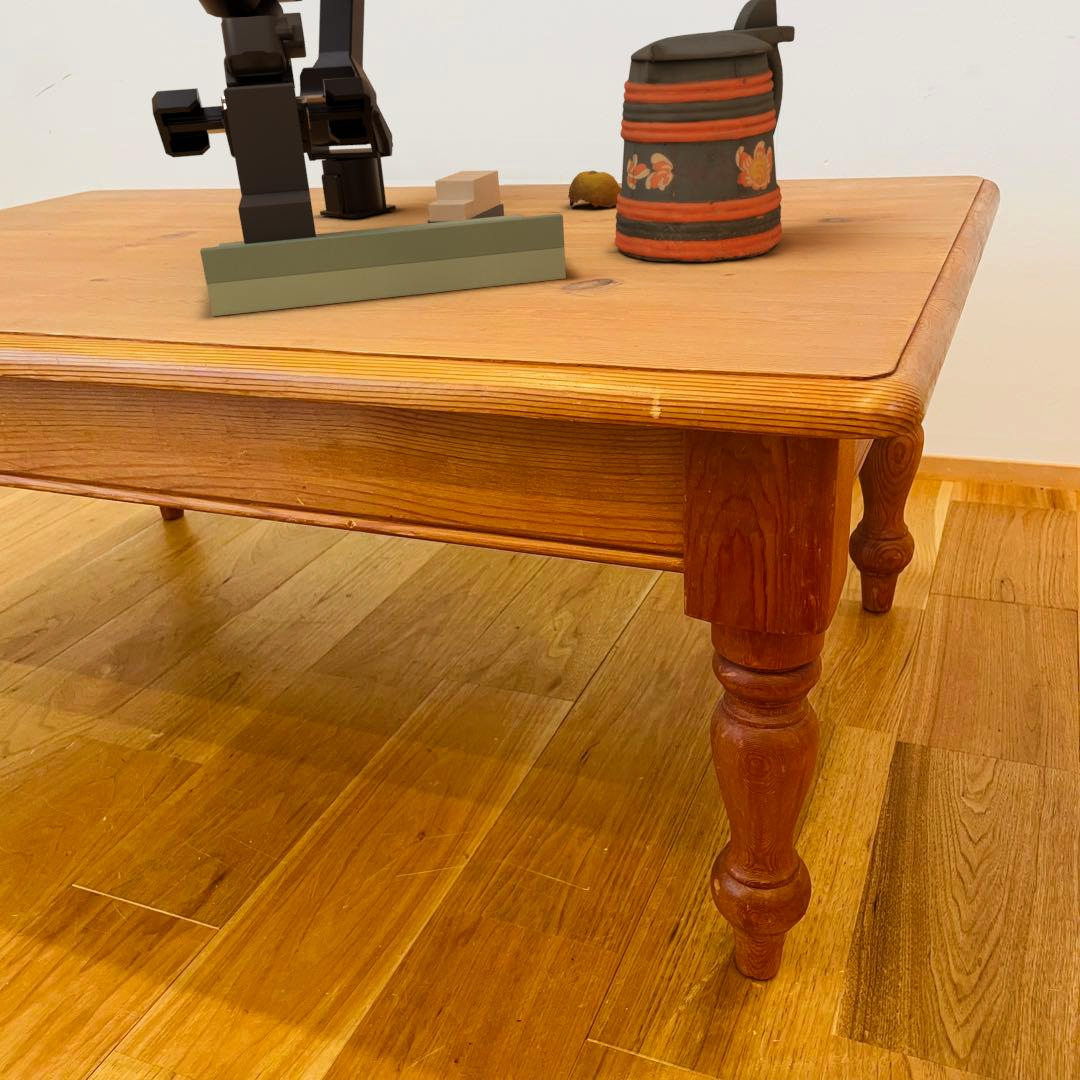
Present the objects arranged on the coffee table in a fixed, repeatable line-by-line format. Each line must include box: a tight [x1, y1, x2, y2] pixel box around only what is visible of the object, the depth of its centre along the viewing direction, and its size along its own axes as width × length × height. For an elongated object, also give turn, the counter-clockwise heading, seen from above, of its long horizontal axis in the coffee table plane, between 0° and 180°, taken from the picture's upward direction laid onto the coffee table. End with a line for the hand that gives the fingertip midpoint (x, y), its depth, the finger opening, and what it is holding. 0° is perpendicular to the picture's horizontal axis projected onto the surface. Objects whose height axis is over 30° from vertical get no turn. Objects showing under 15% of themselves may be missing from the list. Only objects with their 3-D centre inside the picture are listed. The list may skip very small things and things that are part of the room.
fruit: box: [567, 170, 622, 208], centre depth 119 cm, size 8×8×4 cm
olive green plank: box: [199, 213, 567, 317], centre depth 92 cm, size 18×28×5 cm, turn 102°
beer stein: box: [614, 0, 796, 263], centre depth 93 cm, size 19×15×20 cm
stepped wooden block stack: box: [426, 169, 505, 223], centre depth 111 cm, size 10×4×5 cm, turn 161°
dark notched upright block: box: [223, 82, 317, 244], centre depth 87 cm, size 12×6×13 cm, turn 12°
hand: (276, 193), depth 94 cm, fingers closed, pressing on dark notched upright block
